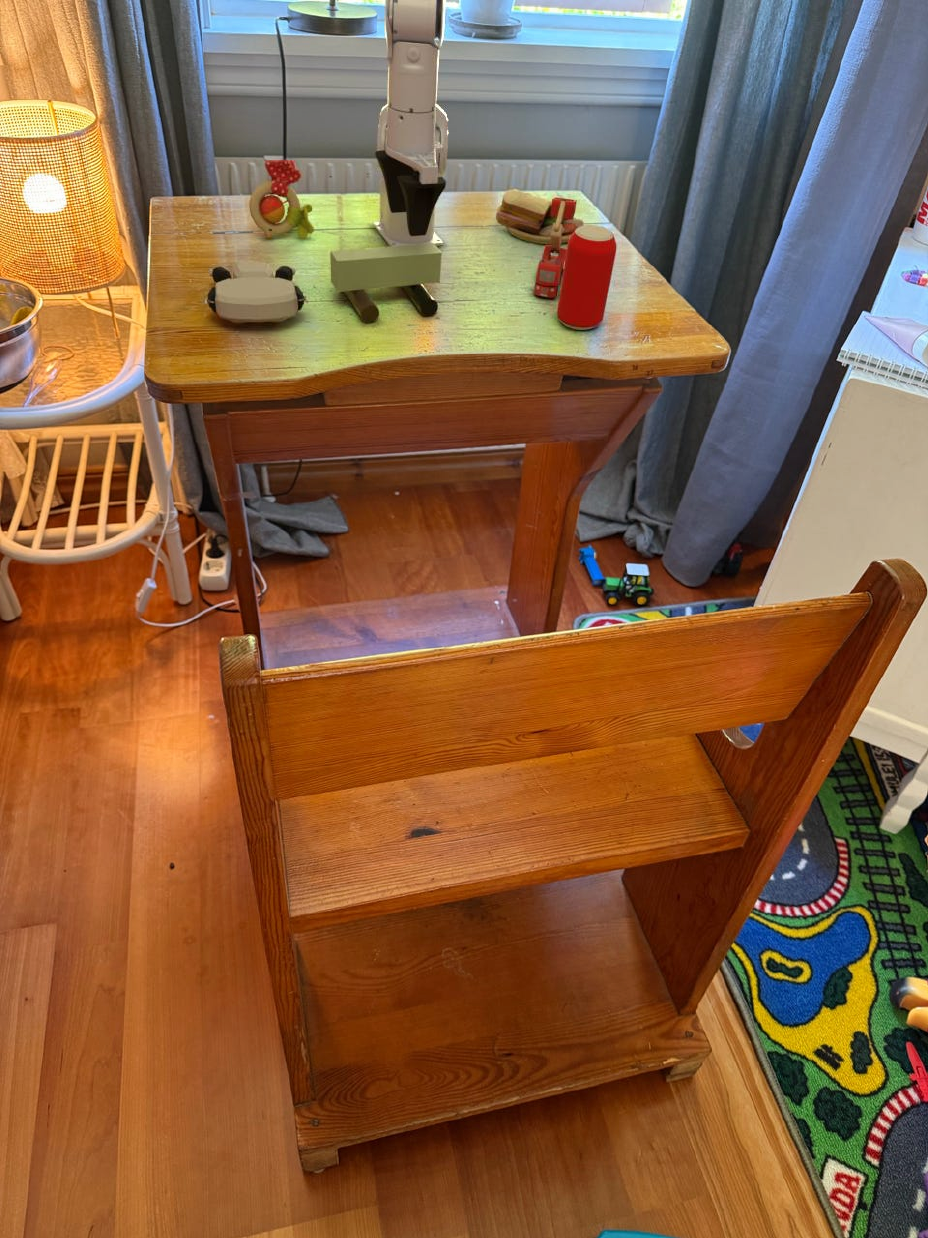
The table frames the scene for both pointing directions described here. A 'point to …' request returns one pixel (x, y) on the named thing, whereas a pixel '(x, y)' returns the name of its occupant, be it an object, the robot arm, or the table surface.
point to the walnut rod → (363, 305)
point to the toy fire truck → (551, 264)
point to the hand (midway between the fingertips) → (407, 222)
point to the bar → (385, 267)
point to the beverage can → (586, 277)
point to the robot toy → (254, 293)
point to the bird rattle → (280, 202)
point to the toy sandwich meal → (532, 218)
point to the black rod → (422, 299)
